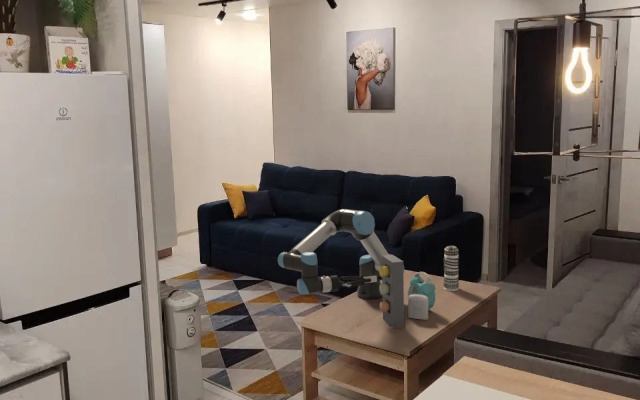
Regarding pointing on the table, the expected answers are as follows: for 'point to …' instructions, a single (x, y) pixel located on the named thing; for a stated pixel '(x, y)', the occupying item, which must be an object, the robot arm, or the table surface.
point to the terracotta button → (385, 306)
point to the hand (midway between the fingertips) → (376, 278)
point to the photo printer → (418, 307)
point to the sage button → (384, 288)
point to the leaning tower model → (451, 268)
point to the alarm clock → (423, 288)
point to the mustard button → (384, 271)
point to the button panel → (394, 291)
